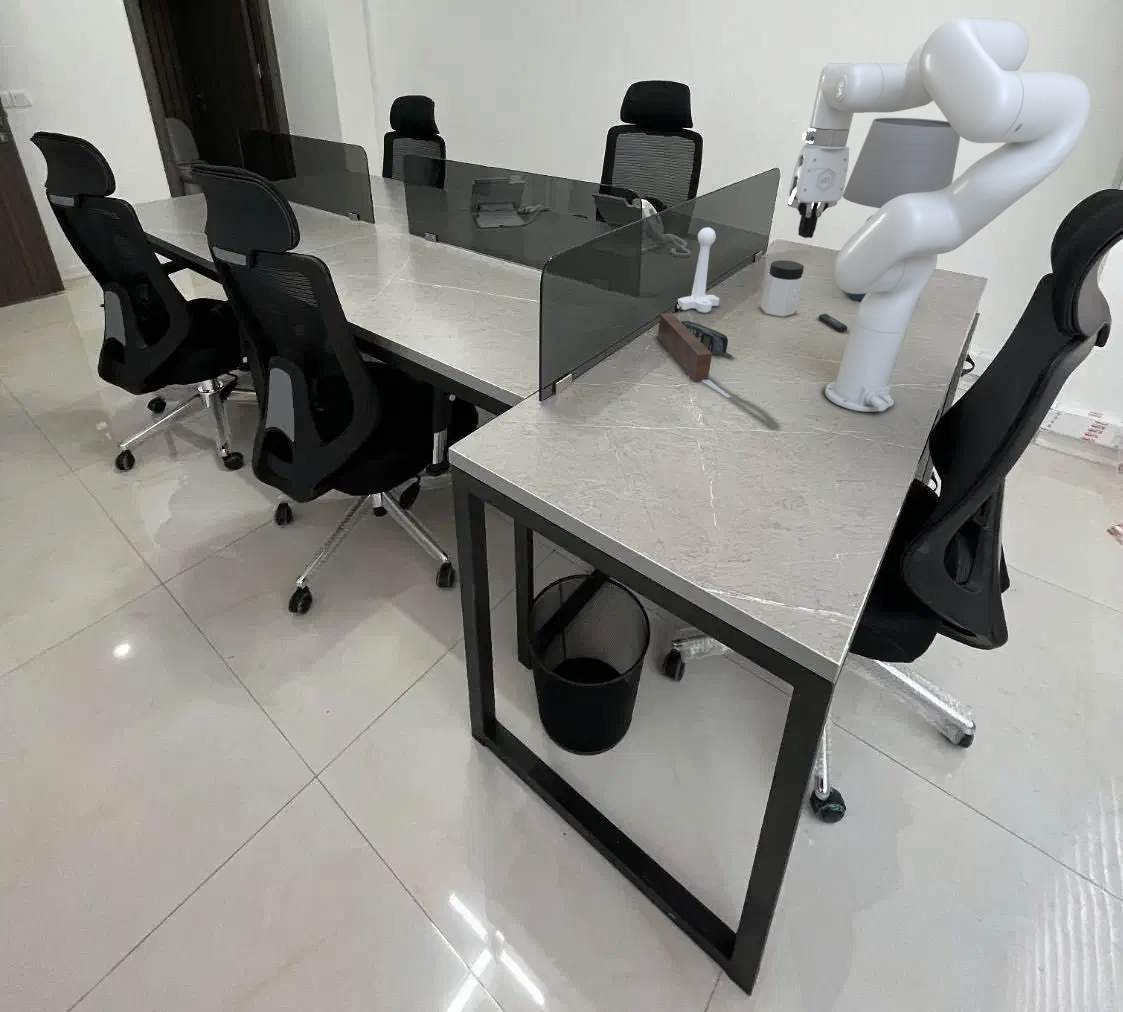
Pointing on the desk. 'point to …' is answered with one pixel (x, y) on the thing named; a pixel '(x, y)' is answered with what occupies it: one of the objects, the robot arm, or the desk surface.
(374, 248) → the desk surface
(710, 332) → the mobile phone
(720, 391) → the butter knife
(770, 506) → the desk surface
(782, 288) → the jar
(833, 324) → the usb stick
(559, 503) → the desk surface
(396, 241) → the desk surface
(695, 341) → the wooden block
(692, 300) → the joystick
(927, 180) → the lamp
